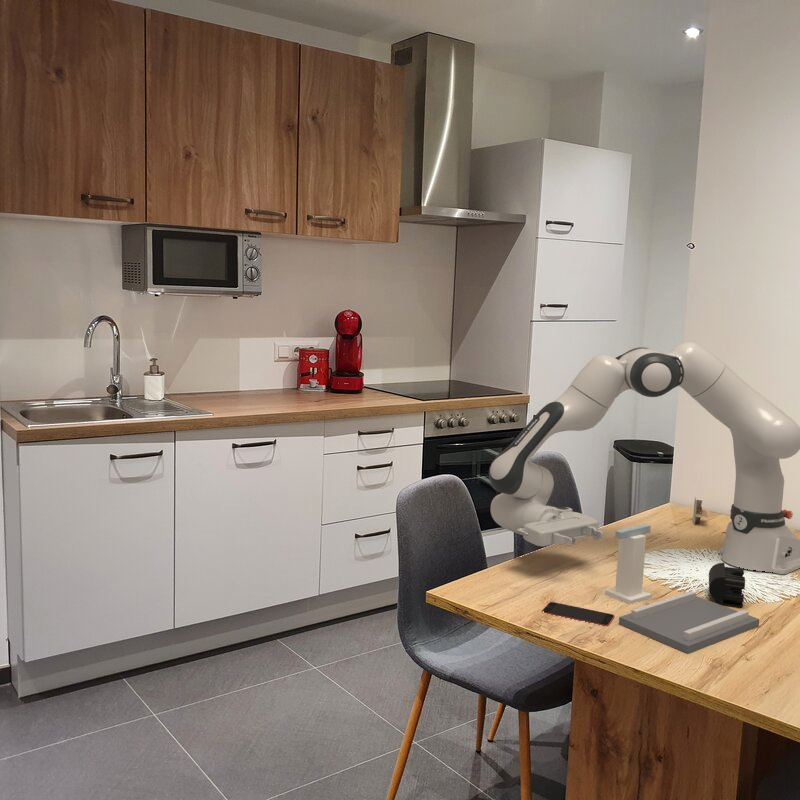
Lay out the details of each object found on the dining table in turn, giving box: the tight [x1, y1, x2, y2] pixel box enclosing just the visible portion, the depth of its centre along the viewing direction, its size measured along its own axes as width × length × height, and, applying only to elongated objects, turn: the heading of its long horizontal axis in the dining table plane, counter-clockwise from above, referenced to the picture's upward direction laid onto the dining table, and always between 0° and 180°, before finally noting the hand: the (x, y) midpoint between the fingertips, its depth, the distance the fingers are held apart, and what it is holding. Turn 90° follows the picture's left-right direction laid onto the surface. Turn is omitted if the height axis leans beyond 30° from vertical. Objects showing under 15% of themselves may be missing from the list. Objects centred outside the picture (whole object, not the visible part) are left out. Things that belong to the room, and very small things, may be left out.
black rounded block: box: [708, 562, 746, 609], centre depth 183 cm, size 10×7×7 cm
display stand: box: [604, 523, 653, 605], centre depth 182 cm, size 7×10×16 cm
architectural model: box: [692, 496, 709, 526], centre depth 242 cm, size 3×7×7 cm, turn 164°
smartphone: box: [541, 601, 616, 627], centre depth 172 cm, size 7×1×14 cm
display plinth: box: [618, 590, 760, 654], centre depth 168 cm, size 24×16×3 cm, turn 126°
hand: (587, 539), depth 191 cm, fingers open, 8 cm apart
